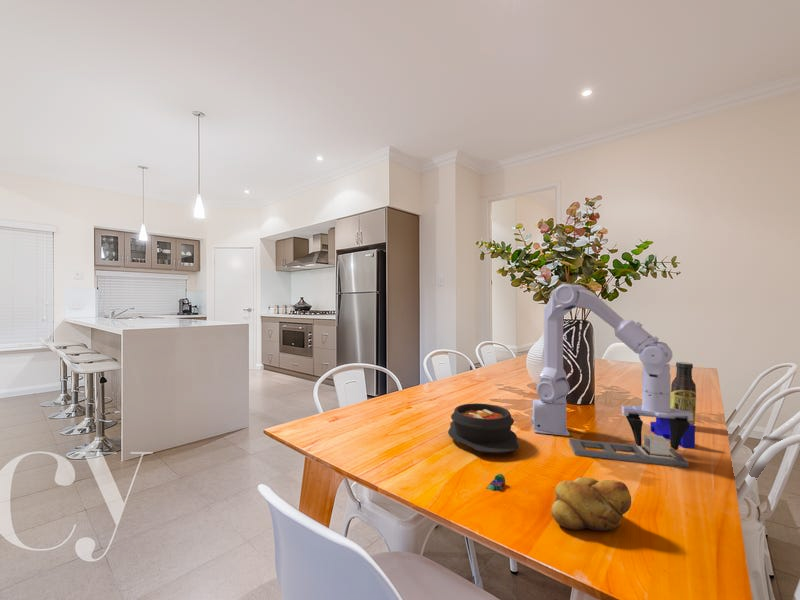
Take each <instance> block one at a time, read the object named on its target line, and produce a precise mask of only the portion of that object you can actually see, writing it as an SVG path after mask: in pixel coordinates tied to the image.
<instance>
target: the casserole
mask: <svg viewBox="0 0 800 600" xmlns="http://www.w3.org/2000/svg"><path fill="white" fill-rule="evenodd" d="M450 419H451V420H452V421H451V422H450V423H449V426H450V427H449V428H448V429H449V430H448V431H447V433H448V435H449V437H450V438H451V439H452V440H454V441H456V442H458V443H461V444H462V445H465V446H468V447H470V448H472V449H473V450H475V451H477V452H480V453H487V454H503V453H504V454H505V453H510V452H516V451H517V450H519V449H520V445H519V442H518V436H517V434H516V433H515V432H514V431H513V430H511V429H512V426H513V425H514V423H515V420H514V418H512V416H511V412H510V411H509V410H508V409H506V408H504V407H502V406H499V405H494V404H488V403H464V404H460V405H457V406H456V407H455V408H454V410H453V413H452V414H451V415H450Z"/></svg>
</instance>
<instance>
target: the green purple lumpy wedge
mask: <svg viewBox="0 0 800 600" xmlns="http://www.w3.org/2000/svg"><path fill="white" fill-rule="evenodd" d="M505 485H506V477H505V476H504V475H503V474H502V473H498V474H497V475H495V476H494V479H492V481H491V482H490V483H489V484H488V485H487V486H486V487H485V489H486V490H489V491H491V492H494V491H497V492H500V491H501V490H502V488H503V487H504V486H505Z"/></svg>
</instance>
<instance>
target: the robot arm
mask: <svg viewBox="0 0 800 600" xmlns="http://www.w3.org/2000/svg"><path fill="white" fill-rule="evenodd" d="M576 308H581V309H587V310H590V311H591V312H593V314H595V315H596V316H597V317H598V318H600V319H601V320H602V321H604V322H605V323H606V324H608V325H609V326H611V327H612V328H613V329H614V336H615V337H616V338H617V339H618V340H620V341H621V342H622V343H623V344H624V345H626V346H627V347H628V348H629V349H630V350H631V351H633V352H634V353H635V354H637V355H638V358H639V360H640V362H641V363H642V372H641V380H642V381H641V405H621V414H622V415H623V416H625V418H626V419H627V422H628V423H629V426H630V429H631V430H632V434H633V438H634V443H635V445H638V446H643V445H642V443H643V441H642V430H643V425H644V424H643V422H644V421H642V419H641V417H649V418H656V417H659V418H669V423H670V431H671V436H670V440H669V445H670V447H671V449H673V450H674V451H678V450H679V447H680V446H679V444H680V441H681V438H682V436H683V435H684V433H685V432H686V430H687V429H688V428H689V426H690V423H689V422H687V420H688V421H693V413H692V412H690V411H686V410H677V409H671V408H670V398H671V397H670V396H671V384H672V381H671V364H670V362H671V361H672V358H673V351H672V349H671V347H670V346H669V345H668V344H667V343H666V342H665V341H659V340H660V338H659V337H658V336H653V335H652V334H651V333H649V332H648V331H646V329H645V328H643V323H640V322H639V321H636V322H635V321H634V320H633V319H629V320H625V319H623V317H621V316H620V315H619V314H618V313H617V312H616V311H614V310H613V308H612V307H610V306H609V305H608V304H606V302H605V301H603V300H602V299H601V298H600V297H599V296H597V294H595V293H594V292H593V291H591V290H590V289H589V290H588V289H587V288H586V287H585V286H584V285H581V284H570V283H562V284H559V285H558V286H557V287H556V288H554V289H553V290H552V291H551V296H550V298H549V300H548V301H547V303H546V305H545V306H544V308H543V368H542V370H541V372H540V374H539V377H538V378H539V380H538V383H537V384H536V387H535V389H536V395H537V396H538V397H539V398H538V399H532V418H531V424H532V427H533V431H534V433H536V434H549V435H557V436H567V437H570V436H571V435H570V434H571V433H570V432H569V430H568V428H567V399H566V396H568V394H569V392H570V390H571V388H570V384H569V381H568V378H567V373H566V370H565V369H564V316H566V315H567V314H568V313H569V312H571V311H572V310H573V309H576Z"/></svg>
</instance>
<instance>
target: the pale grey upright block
mask: <svg viewBox="0 0 800 600" xmlns="http://www.w3.org/2000/svg"><path fill="white" fill-rule="evenodd" d="M643 446H644V451H645V452H646V453H647V454H648V455H655V456H664V457H670V453H669V449H670V440H669V439H665V438H664V437H663V436H658V435H656V434H646V433H645V434H643Z"/></svg>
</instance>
